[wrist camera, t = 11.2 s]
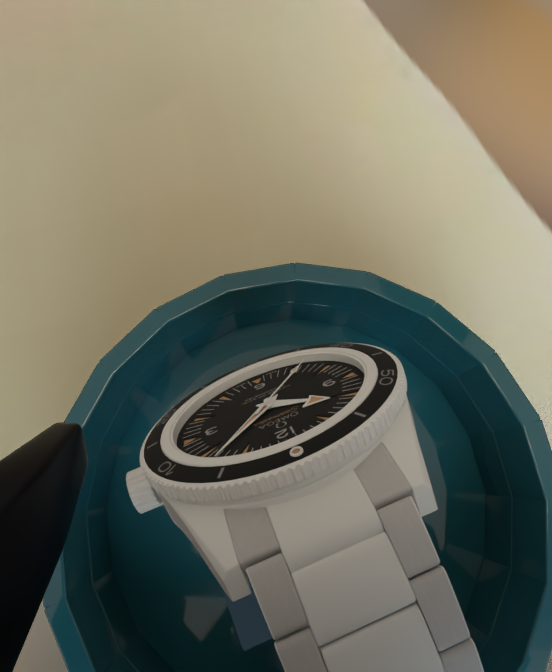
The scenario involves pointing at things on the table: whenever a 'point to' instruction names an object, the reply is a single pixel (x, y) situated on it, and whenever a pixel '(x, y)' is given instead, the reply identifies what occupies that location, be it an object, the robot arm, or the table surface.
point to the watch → (312, 511)
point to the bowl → (434, 439)
